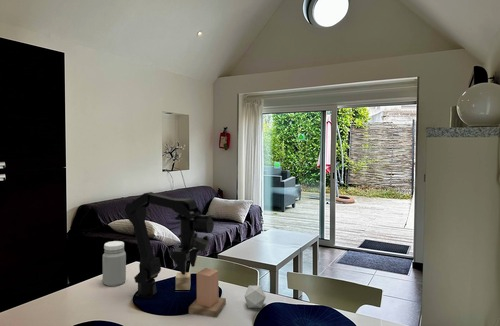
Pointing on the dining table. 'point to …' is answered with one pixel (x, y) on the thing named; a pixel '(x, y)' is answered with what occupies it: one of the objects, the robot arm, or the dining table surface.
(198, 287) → the pillar
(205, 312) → the slab
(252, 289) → the die
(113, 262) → the jar
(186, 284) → the oak cube
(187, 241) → the robot arm
